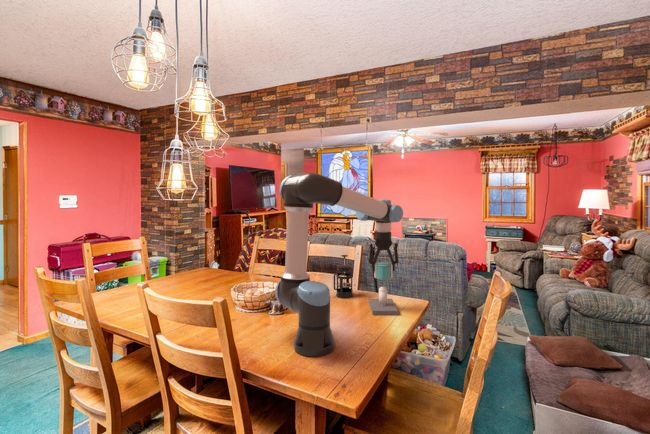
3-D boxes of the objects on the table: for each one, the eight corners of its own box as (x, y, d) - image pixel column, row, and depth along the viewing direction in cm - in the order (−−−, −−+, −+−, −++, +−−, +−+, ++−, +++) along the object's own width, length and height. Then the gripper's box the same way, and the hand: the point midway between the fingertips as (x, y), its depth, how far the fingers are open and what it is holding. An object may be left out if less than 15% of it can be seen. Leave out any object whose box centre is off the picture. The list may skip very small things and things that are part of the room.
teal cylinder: (391, 279, 157) (391, 265, 157) (377, 279, 158) (377, 265, 157) (389, 276, 164) (389, 262, 164) (375, 276, 165) (375, 262, 164)
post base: (398, 315, 153) (398, 292, 152) (372, 315, 153) (372, 291, 152) (392, 302, 171) (392, 281, 170) (368, 302, 171) (369, 281, 170)
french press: (356, 294, 184) (356, 254, 183) (350, 299, 176) (350, 257, 174) (337, 292, 189) (337, 252, 188) (330, 296, 181) (330, 255, 180)
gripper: (402, 230, 163) (402, 275, 164) (362, 230, 163) (362, 275, 165) (405, 231, 155) (405, 279, 157) (363, 232, 156) (363, 279, 158)
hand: (383, 277), depth 161 cm, fingers closed on teal cylinder, 7 cm apart
